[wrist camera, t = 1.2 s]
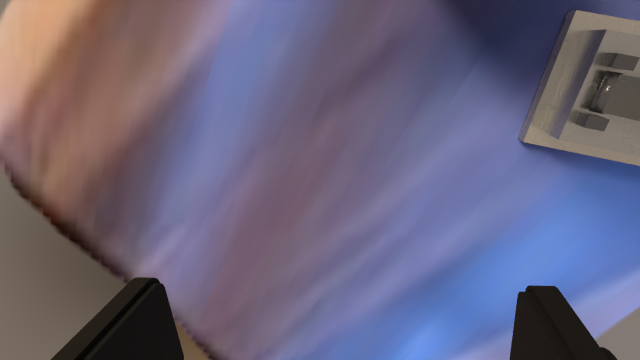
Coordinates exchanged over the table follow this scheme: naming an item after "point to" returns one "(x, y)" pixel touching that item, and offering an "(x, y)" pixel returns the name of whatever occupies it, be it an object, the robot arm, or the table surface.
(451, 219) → the table surface
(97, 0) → the table surface
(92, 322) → the robot arm
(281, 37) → the table surface
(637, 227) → the table surface
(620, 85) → the strap
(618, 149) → the block
